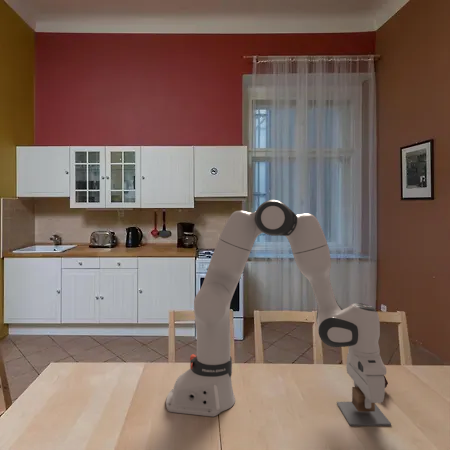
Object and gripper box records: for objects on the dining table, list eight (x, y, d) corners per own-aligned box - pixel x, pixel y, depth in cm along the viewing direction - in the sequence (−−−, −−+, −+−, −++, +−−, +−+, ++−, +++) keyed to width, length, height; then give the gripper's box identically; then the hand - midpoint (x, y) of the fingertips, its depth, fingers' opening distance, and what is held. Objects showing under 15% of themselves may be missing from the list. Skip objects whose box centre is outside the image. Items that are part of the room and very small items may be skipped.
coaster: (350, 425, 103) (350, 423, 103) (336, 403, 115) (336, 401, 115) (391, 425, 103) (391, 423, 103) (373, 403, 115) (373, 401, 115)
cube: (358, 411, 107) (358, 395, 107) (352, 402, 112) (352, 386, 112) (374, 411, 107) (375, 395, 107) (367, 402, 112) (368, 386, 112)
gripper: (341, 344, 119) (341, 385, 120) (366, 372, 99) (366, 420, 99) (360, 344, 119) (359, 384, 120) (389, 371, 99) (388, 420, 99)
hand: (362, 401), depth 109 cm, fingers closed on cube, 5 cm apart
